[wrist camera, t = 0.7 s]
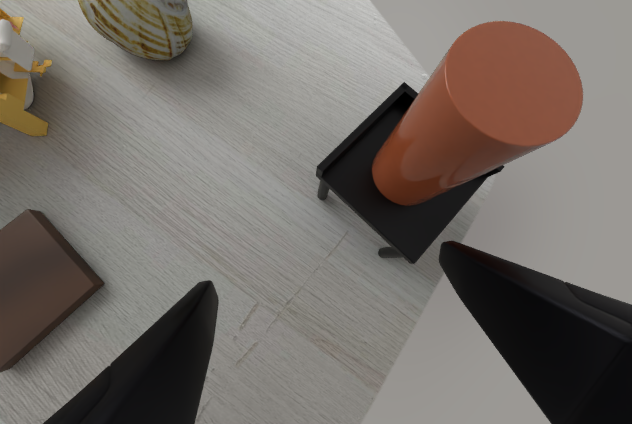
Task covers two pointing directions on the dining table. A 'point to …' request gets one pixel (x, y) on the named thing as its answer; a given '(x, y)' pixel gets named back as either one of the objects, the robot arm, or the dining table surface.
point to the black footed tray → (370, 204)
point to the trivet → (37, 283)
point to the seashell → (142, 25)
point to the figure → (18, 78)
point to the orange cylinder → (480, 112)
